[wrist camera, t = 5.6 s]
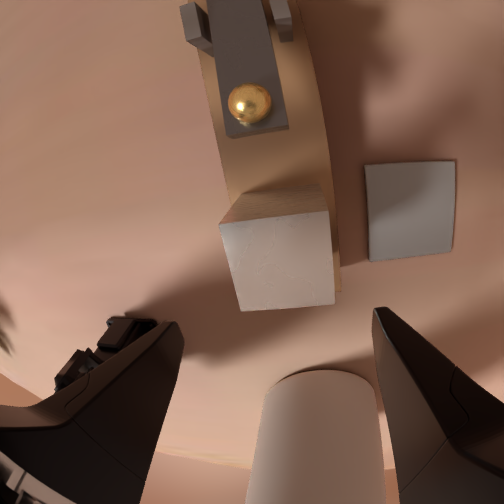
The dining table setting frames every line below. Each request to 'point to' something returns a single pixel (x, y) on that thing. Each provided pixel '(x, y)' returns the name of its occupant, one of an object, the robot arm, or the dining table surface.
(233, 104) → the lever
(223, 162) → the plane body
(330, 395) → the cylinder vase
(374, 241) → the rubber mat
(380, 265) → the dining table surface
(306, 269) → the cap block
